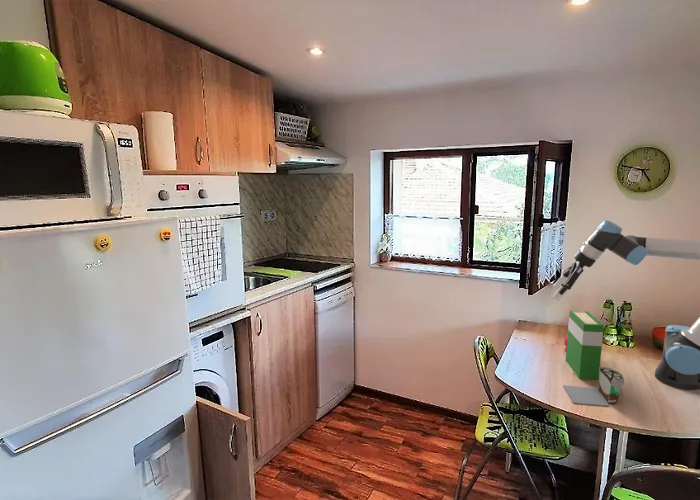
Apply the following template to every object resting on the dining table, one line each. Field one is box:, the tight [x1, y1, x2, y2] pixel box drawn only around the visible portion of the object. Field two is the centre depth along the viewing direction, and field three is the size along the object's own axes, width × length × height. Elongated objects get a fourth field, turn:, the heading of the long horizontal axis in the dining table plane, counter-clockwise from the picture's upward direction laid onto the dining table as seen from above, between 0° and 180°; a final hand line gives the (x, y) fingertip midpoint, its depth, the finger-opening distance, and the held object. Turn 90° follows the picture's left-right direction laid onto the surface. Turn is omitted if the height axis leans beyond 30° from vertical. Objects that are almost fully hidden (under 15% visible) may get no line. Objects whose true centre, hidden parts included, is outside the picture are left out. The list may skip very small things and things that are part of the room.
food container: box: [597, 366, 625, 405], centre depth 155 cm, size 12×6×10 cm, turn 168°
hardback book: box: [565, 310, 605, 381], centre depth 177 cm, size 18×7×24 cm, turn 169°
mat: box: [562, 384, 610, 407], centre depth 158 cm, size 12×13×1 cm
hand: (555, 293), depth 178 cm, fingers open, 13 cm apart
